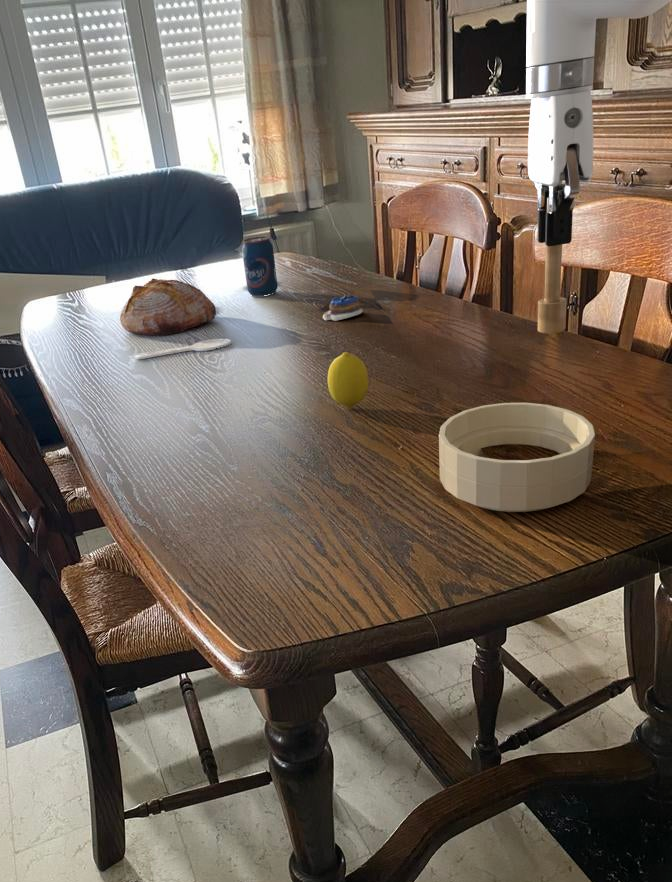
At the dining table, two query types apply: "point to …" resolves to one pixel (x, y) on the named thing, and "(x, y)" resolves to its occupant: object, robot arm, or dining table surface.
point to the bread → (165, 308)
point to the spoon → (187, 348)
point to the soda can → (259, 266)
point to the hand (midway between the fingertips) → (554, 241)
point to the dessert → (343, 308)
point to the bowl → (516, 479)
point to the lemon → (348, 380)
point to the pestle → (552, 293)
